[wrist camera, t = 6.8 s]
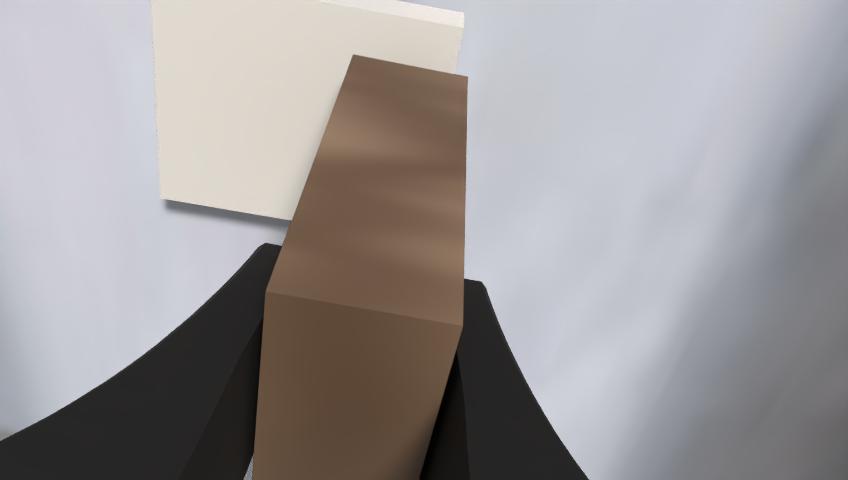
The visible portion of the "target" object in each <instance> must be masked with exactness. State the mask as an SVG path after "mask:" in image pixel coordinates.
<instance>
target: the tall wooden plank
mask: <svg viewBox="0 0 848 480" xmlns="http://www.w3.org/2000/svg"><path fill="white" fill-rule="evenodd" d="M467 86H468V77H466V76H461V75H456V74H451V73H446V72H441V71H436V70H431V69H426V68H420V67H415V66H410V65H405V64H400V63H395V62H390V61H385V60H380V59H375V58H369V57H364V56H359V55H354V54H353V56H352V58H351V61H350V64H349V66H348V69H347V72H346V75H345V77H344V80H343V83H342V85H341V88H340V91H339V94H338V96H337V99H336V102H335V104H334V107H333V110H332V113H331V115H330V118H329V121H328V123H327V126H326V129H325V132H324V134H323V137H322V140H321V142H320V145H319V148H318V151H317V153H316V156H315V159H314V161H313V164H312V167H311V170H310V172H309V175H308V178H307V180H306V183H305V186H304V188H303V191H302V194H301V197H300V199H299V202H298V205H297V207H296V210H295V213H294V216H293V218H292V221H291V224H290V226H289V229H288V232H287V235H286V237H285V240H284V243H283V245H282V248H281V251H280V254H279V256H278V259H277V262H276V264H275V267H274V270H273V273H272V275H271V278H270V281H269V283H268V286H267V289H266V292H265V306H264V320H263V334H262V347H261V361H260V375H259V389H258V402H257V416H256V430H255V444H254V457H253V471H252V480H419V477H420V474H421V470H422V467H423V463H424V460H425V456H426V453H427V449H428V446H429V442H430V439H431V435H432V432H433V428H434V425H435V422H436V418H437V415H438V411H439V408H440V404H441V401H442V397H443V394H444V390H445V387H446V383H447V380H448V376H449V373H450V369H451V366H452V362H453V359H454V356H455V352H456V349H457V345H458V342H459V338H460V335H461V331H462V328H463V299H464V246H465V193H466V140H467Z"/></svg>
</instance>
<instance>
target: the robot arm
mask: <svg viewBox="0 0 848 480" xmlns="http://www.w3.org/2000/svg"><path fill="white" fill-rule="evenodd" d="M281 248H282V246H280V245H274V244H269V243H264V244H263V245H261V246H259V247H258V248H257V249H256V250H255V252H254V253H253V254H252V255H251V256H250V258H249V259H248V260H247V261H246V262H245V263H244V264H243V265H242V266H241V268H240V269H239V270H238V271H237V272H236V273H235V274H234V275H233V276H232V277H231V278H230V279H229V280H228V281H227V282H226V283H225V284H224V285H223V286H222V287H221V288H220V289H219V290H218V291H217V292H216V293H215V294H214V295H213V296H212V297H211V298H210V299H209V300H207V301H206V302H205V303H204V304H203V305H202V306H201V307H200V308H199V309H198V310H197V311H196V312H195V313H194V314H192V315H191V316H190V317H189V318H188V319H187V320H186V321H184V322H183V323H182V324H181V325H180V326H178V327H177V328H176V329H175V330H174V331H172V332H171V333H170V334H169V335H168V336H166V337H165V338H164V339H163V340H162V341H160V342H159V343H158V344H157V345H155V346H154V347H153V348H152V349H150V350H149V351H148V352H146V353H145V354H144V355H142V356H141V357H140V358H138V359H137V360H136V361H134V362H133V363H132V364H130V365H129V366H127V367H126V368H124V369H123V370H122V371H120V372H119V373H117V374H116V375H114V376H113V377H111V378H110V379H109V380H107V381H106V382H104V383H102V384H101V385H99V386H98V387H96V388H94V389H93V390H91V391H90V392H88V393H86V394H85V395H83V396H82V397H80V398H78V399H77V400H75V401H74V402H72V403H70V404H69V405H67V406H65V407H64V408H62V409H60V410H58V411H57V412H55V413H53V414H51V415H50V416H48V417H46V418H44V419H42V420H40V421H38V422H37V423H35V424H33V425H31V426H29V427H27V428H25V429H23V430H21V431H19V432H17V433H15V434H13V435H11V436H9V437H7V438H5V439H4V440H2V441H0V480H243V479H244V477H245V474H246V472H247V469H248V466H249V464H250V461H251V459H252V456H253V453H254V444H255V430H256V416H257V402H258V389H259V375H260V361H261V347H262V334H263V320H264V306H265V292H266V289H267V286H268V283H269V281H270V278H271V275H272V273H273V270H274V267H275V264H276V262H277V259H278V256H279V254H280V251H281ZM419 480H589V479H588V478H587V476H586V475H585V474H584V472H583V471H582V470H581V468H580V467H579V466H578V464H577V463H576V462H575V460H574V459H573V457H572V456H571V454H570V453H569V451H568V450H567V449H566V447H565V446H564V444H563V443H562V441H561V440H560V438H559V437H558V435H557V434H556V432H555V430H554V429H553V427H552V426H551V424H550V422H549V421H548V419H547V417H546V416H545V414H544V412H543V411H542V409H541V407H540V405H539V404H538V402H537V400H536V398H535V397H534V395H533V393H532V391H531V389H530V388H529V386H528V384H527V382H526V380H525V378H524V376H523V374H522V372H521V370H520V368H519V366H518V364H517V362H516V360H515V358H514V356H513V354H512V352H511V350H510V347H509V345H508V343H507V341H506V339H505V336H504V334H503V332H502V329H501V327H500V325H499V322H498V320H497V317H496V315H495V312H494V309H493V307H492V304H491V301H490V298H489V296H488V293H487V290H486V287H485V286H484V285H483V283H482V282H480V281H475V280H469V279H464V299H463V328H462V331H461V335H460V338H459V342H458V345H457V349H456V352H455V356H454V359H453V362H452V366H451V369H450V373H449V376H448V380H447V383H446V387H445V390H444V394H443V397H442V401H441V404H440V408H439V411H438V415H437V418H436V422H435V425H434V428H433V432H432V435H431V439H430V442H429V446H428V449H427V453H426V456H425V460H424V463H423V467H422V470H421V474H420V477H419Z"/></svg>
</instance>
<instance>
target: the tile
mask: <svg viewBox="0 0 848 480" xmlns="http://www.w3.org/2000/svg"><path fill="white" fill-rule="evenodd" d="M151 14H152V35H153V56H154V77H155V98H156V119H157V140H158V161H159V182H160V198H162V199H168V200H173V201H179V202H185V203H191V204H197V205H203V206H209V207H215V208H221V209H226V210H232V211H238V212H244V213H250V214H256V215H262V216H268V217H274V218H279V219H285V220H291V221H292V218H293V216H294V213H295V210H296V207H297V205H298V202H299V199H300V197H301V194H302V191H303V188H304V186H305V183H306V180H307V178H308V175H309V172H310V170H311V167H312V164H313V161H314V159H315V156H316V153H317V151H318V148H319V145H320V142H321V140H322V137H323V134H324V132H325V129H326V126H327V123H328V121H329V118H330V115H331V113H332V110H333V107H334V104H335V102H336V99H337V96H338V94H339V91H340V88H341V85H342V83H343V80H344V77H345V75H346V72H347V69H348V66H349V64H350V61H351V58H352V56H353V54H354V55H359V56H364V57H369V58H375V59H380V60H385V61H390V62H395V63H400V64H405V65H410V66H415V67H420V68H426V69H431V70H436V71H441V72H446V73H451V74H455V69H456V64H457V59H458V54H459V49H460V44H461V39H462V35H463V30H464V13H461V12H455V11H450V10H445V9H439V8H434V7H429V6H423V5H418V4H413V3H407V2H402V1H397V0H151Z"/></svg>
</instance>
